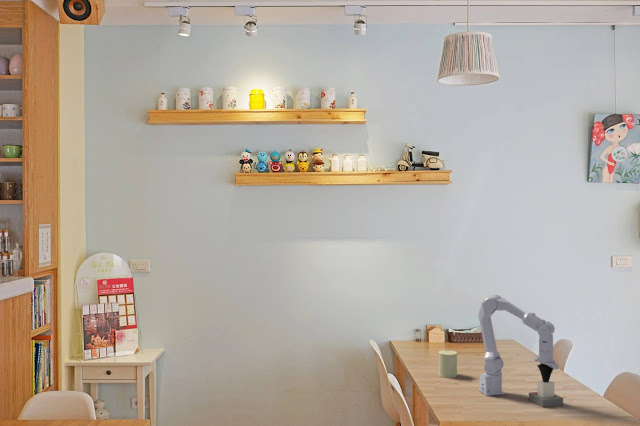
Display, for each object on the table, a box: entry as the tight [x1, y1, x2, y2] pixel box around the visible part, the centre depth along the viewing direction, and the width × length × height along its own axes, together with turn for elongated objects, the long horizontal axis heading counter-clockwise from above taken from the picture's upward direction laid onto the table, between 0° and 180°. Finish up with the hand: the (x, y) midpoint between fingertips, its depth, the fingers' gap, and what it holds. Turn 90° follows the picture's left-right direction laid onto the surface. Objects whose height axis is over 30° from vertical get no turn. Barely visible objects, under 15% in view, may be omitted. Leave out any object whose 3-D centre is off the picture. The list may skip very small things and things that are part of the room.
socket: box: [528, 391, 564, 408], centre depth 259 cm, size 10×10×3 cm
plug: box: [537, 379, 555, 398], centre depth 259 cm, size 4×6×8 cm
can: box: [438, 349, 458, 379], centre depth 300 cm, size 9×9×12 cm
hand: (545, 381), depth 259 cm, fingers closed
